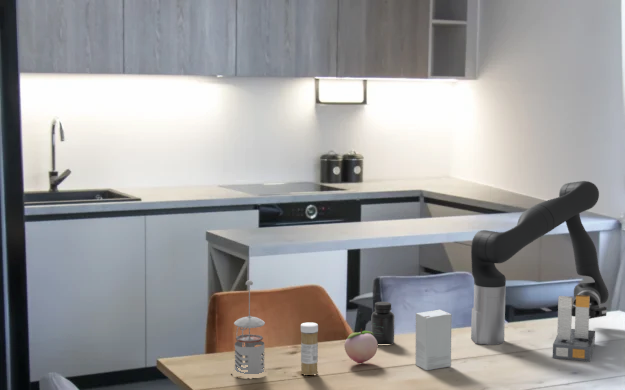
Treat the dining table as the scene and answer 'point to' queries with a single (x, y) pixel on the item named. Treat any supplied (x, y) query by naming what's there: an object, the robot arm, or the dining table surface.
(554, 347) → the console
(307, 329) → the sprinkles bottle
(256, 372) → the french press
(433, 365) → the skincare box
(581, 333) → the knob orange
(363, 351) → the decorative fruit
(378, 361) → the dining table surface
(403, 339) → the dining table surface
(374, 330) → the supplement bottle
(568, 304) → the grey upright block
